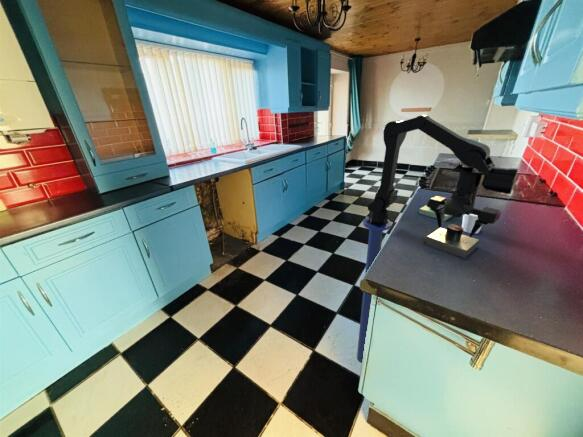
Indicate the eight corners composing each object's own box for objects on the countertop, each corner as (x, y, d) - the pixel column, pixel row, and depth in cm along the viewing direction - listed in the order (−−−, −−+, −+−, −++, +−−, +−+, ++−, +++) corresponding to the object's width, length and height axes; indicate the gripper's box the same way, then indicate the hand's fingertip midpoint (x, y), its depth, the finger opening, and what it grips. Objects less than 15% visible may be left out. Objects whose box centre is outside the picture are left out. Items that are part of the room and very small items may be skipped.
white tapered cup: (466, 224, 94) (470, 208, 91) (485, 231, 88) (491, 214, 85) (455, 228, 91) (459, 212, 89) (474, 236, 86) (479, 218, 83)
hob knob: (442, 237, 80) (445, 226, 78) (448, 233, 82) (451, 222, 81) (457, 242, 77) (460, 231, 75) (462, 238, 79) (465, 226, 77)
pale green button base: (418, 213, 106) (420, 204, 104) (428, 207, 111) (430, 199, 109) (445, 220, 98) (447, 212, 96) (454, 214, 103) (456, 206, 101)
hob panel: (425, 243, 83) (427, 236, 81) (438, 234, 88) (440, 227, 87) (464, 258, 74) (467, 250, 73) (476, 247, 79) (479, 239, 78)
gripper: (422, 186, 75) (414, 230, 81) (495, 201, 61) (478, 252, 68) (439, 179, 81) (430, 220, 87) (509, 191, 67) (492, 239, 73)
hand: (454, 232), depth 79 cm, fingers open, 9 cm apart
